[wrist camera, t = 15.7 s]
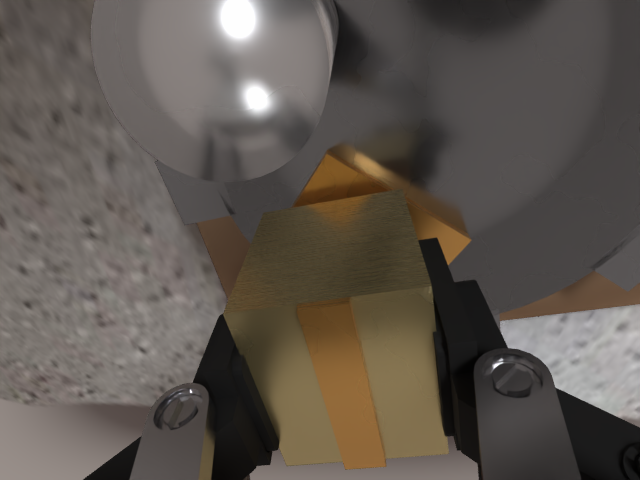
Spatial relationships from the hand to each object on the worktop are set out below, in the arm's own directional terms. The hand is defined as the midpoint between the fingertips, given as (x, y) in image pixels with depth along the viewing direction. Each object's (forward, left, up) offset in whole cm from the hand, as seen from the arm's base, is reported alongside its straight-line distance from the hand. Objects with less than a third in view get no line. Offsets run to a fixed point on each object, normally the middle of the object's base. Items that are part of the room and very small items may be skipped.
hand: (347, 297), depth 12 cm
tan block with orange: (0, 0, -1) cm, 1 cm away
